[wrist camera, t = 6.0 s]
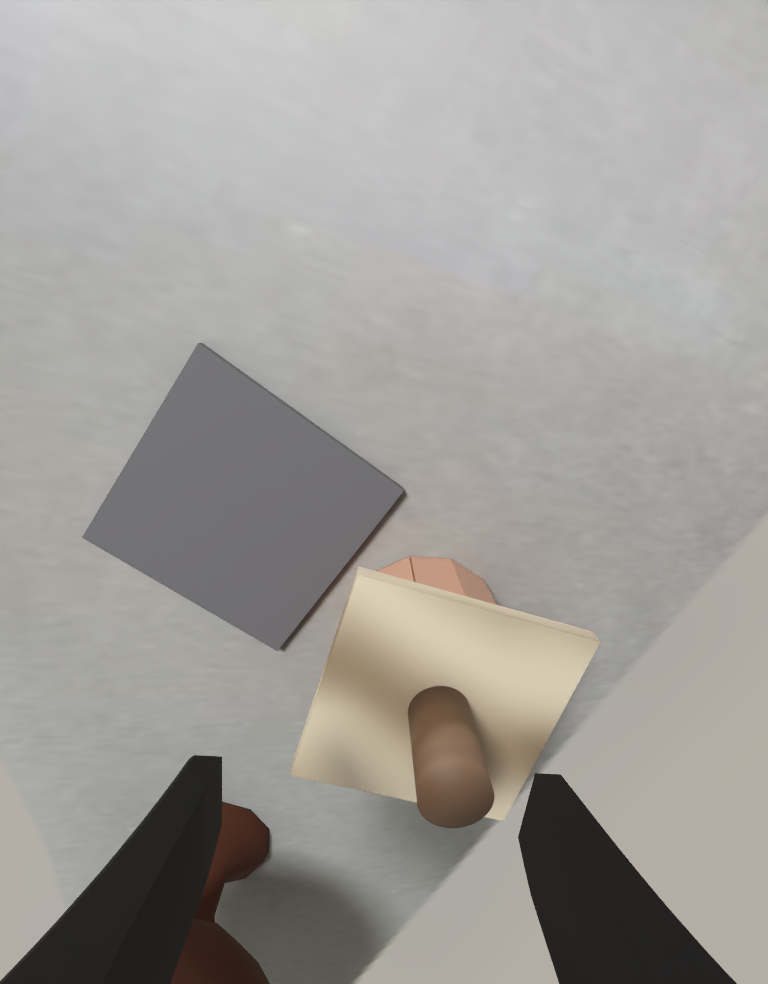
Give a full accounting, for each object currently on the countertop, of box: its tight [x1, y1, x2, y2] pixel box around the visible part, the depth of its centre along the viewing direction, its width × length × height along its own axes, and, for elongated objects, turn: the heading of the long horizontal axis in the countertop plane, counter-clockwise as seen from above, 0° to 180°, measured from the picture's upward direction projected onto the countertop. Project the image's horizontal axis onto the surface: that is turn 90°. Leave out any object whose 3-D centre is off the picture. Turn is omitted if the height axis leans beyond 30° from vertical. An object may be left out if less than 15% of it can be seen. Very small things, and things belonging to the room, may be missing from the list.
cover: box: [290, 566, 600, 828], centre depth 14 cm, size 9×9×4 cm
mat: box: [82, 343, 404, 651], centre depth 18 cm, size 10×10×1 cm
